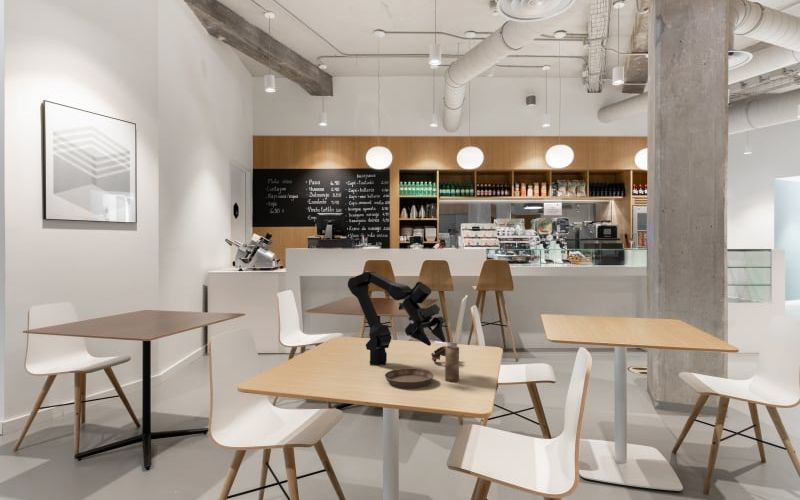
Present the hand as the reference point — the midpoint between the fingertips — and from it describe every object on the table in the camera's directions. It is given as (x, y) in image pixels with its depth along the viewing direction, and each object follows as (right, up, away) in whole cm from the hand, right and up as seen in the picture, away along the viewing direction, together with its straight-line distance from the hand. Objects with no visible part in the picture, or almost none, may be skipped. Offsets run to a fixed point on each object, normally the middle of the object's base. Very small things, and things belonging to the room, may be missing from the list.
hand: (437, 343), depth 180 cm
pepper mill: (+5, -13, -4) cm, 14 cm away
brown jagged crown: (+5, -13, +22) cm, 26 cm away
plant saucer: (-11, -13, -7) cm, 18 cm away
